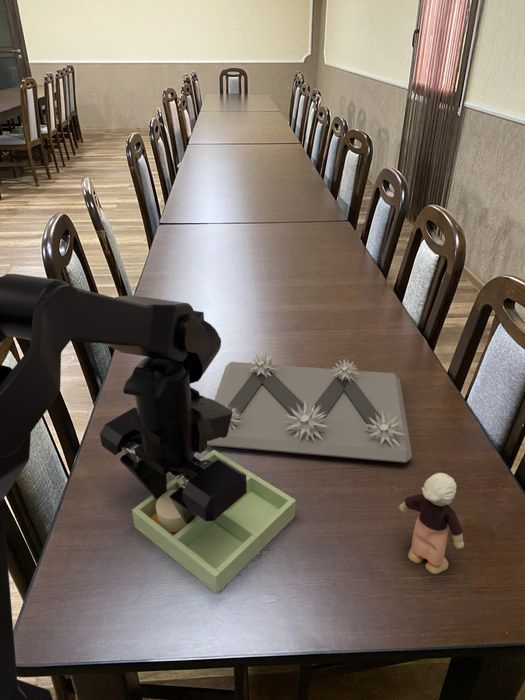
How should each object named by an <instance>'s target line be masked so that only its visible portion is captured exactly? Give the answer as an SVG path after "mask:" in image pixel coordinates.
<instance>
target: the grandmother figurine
mask: <svg viewBox="0 0 525 700" xmlns="http://www.w3.org/2000/svg"><path fill="white" fill-rule="evenodd" d="M421 490H422V494H419V493H418V494H414V495H411V496H408V497H406V498H404V501H402V503H400V504H399V506H398V509H399V511H400V512H401V513H403V514H406V513H407V512H408V511H409V510H412V511H416V512H418V513H419V514H418V516H417V518H416V521H415V523H414V529H413V531H412V532H413V533H412V541H411V547H410V549H409V552H408V559H409V560H410V561H411V562H413V563H415V564H420V563H422V562H423V561H424V560H427V562H426V563H425V569H426V570H427V571H428V572H429V573H430V574H433V575H437V574H440V573H442V572H444V571H446V570H447V569H448V568H449V562H448V560H447V558H446V557H445V554H446V548H447V543H448V537H449V536H448V535H449V531H450V534H451V536H452V540H453V545H454V547H455V548H456V549H457V550H462V549H464V547H465V542H464V536H463V529H462V528H463V527H462V526H461V523H460V521H459V518H458V516H457V513H456V512H455V510H454V509H453V508H452V507H451V506H449V504H451V503H453V499H454V498H455V497H456V493H457V483H456V482H455V479H454V477H452V476H450V475H449V474H447V473H444V472H437V473H434V474H433V475H431V476H429V477H428V478H427V479H426V480H425V481H424V484H423V487H421ZM448 530H449V531H448Z"/></svg>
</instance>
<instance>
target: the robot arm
mask: <svg viewBox="0 0 525 700" xmlns="http://www.w3.org/2000/svg"><path fill="white" fill-rule="evenodd" d="M7 337H11V338H18V339H24V340H28V341H29V340H30V345H29V349H28V350H27V351H26V352H25V354H23V356H22V357H21V358H20V360H19V361H17V363H16V364H15V365H14V366H13V368H12V367H11V366H7V365H2V364H0V700H54V699H53V696H52V695H53V694H52V693H51V690H50V689H47V688H45V687H41V686H39V685H35V684H33V683H30V682H26V681H23V680H21V679H18V671H17V662H16V661H17V660H16V647H15V636H14V623H13V610H12V598H11V583H10V573H9V572H10V571H9V560H8V559H9V558H8V547H7V534H6V522H5V509H4V504H5V498H6V496H7V495H8V493H9V491H10V490H11V489H12V487H13V486H14V485H15V482H16V481H17V480H18V478H19V476H20V475H21V474H22V472H23V470H24V469H25V467H26V466H27V465H28V463H29V460H30V455H31V453H30V452H31V440H32V439H31V438H32V431H33V430H34V429H35V428H36V426H37V425H38V424H39V422H40V420H41V419H42V418H43V416H44V415H45V414H46V412H47V411H48V409H49V408H50V407H51V405H52V404H53V403H54V401H55V400H56V399H57V397H58V396H59V394H60V391H61V378H62V377H61V375H62V373H61V372H62V352H63V351H64V350H65V348H67V346H68V344H69V343H70V342H76V343H77V342H79V343H91V344H104V345H107V346H108V348H111V349H114V350H115V351H117V352H120V353H123V354H128V355H133V356H134V355H135V356H140V357H145V358H143V359H141V361H140V362H138V364H137V365H136V366H135V367H134V369H132V371H131V375H130V376H129V377H128V378H127V379H126V381H125V383H124V386H123V389H122V392H123V394H125V395H129V396H134V398H135V407H133V408H130V409H129V410H127V411H125V412H124V413H122V414H120V415H118V416H117V417H115V418H113V419H111V420H110V421H108V422H106V423H105V424H104V425H103V427H102V429H101V430H100V433H99V438H100V443H101V446H102V447H103V448H104V449H106V450H107V451H108V452H110V454H112V455H114V456H117V455H118V454H120V453H121V452H123V451H124V454H122V455H121V456H120V457H119V460H120V463H121V464H122V465H123V466H124V467H126V469H128V471H129V472H130V473H131V474H132V475H133V476H134V477H135V478H136V479H137V480H138V482H140V484H141V485H142V486H143V487H144V488H145V489H146V491H148V493H149V494H150V496H151V495H152V496H153V497H154V498H155V499H156V500H158V499H159V497H160V496H161V495H163V494H164V493H166V492H167V484H168V482H167V481H168V480H167V479H168V478H167V474H168V475H169V476H171V477H172V478H173V479H179V478H180V477H182V476H184V477H183V482H184V484H182V487H181V488H179V489H178V490H177V491H175V492H174V493H173V494H171V495H170V496H169V498H170V499H171V501H172V503H173V504H174V506H175V507H176V509H177V511H178V512H179V514H180V516H181V517H182V519H183V520H184V521H185V523H187V524H189V523H190V522H191V521H192V520H193V519H194V518H195V516H196V515H198V516H199V517H200V518H202V519H203V520H205V521H214V520H216V519H217V518H218V517H219V516H220V515H221V514H223V513H224V512H225V511H226V510H227V509H228V508H230V507H231V506H232V505H233V504H234V503H235V502H237V501H238V500H239V499H240V498H241V497H242V496H244V495H245V494H246V493H247V481H246V475H245V474H243V473H242V472H240V471H239V470H237V469H235V468H234V467H232V466H231V465H229V464H227V463H226V462H224V461H221V460H218V459H217V460H216V461H215V462H211V461H210V460H202V461H201V460H200V459H199V458H198V457H196V456H195V455H196V453H197V454H202V453H203V452H205V451H206V450H207V449H208V445H207V441H211V440H214V439H217V438H220V437H222V438H225V437H227V435H228V431H229V427H230V422H231V418H232V414H233V411H232V410H230V409H229V408H227V407H225V406H223V405H221V404H220V403H218V402H216V401H214V400H215V399H212V398H208V397H205V396H204V395H201V394H200V391H199V390H197V389H195V388H193V387H192V386H191V384H194V383H197V382H200V380H201V379H202V377H203V376H204V374H205V373H206V371H207V369H208V368H209V367H210V365H211V364H212V363H213V361H214V359H215V358H216V357H217V355H218V354H219V352H220V350H221V347H222V339H221V336H220V334H219V333H218V331H217V330H216V328H215V327H214V326H213V325H212V324H211V323H209V322H207V321H206V320H205V313H204V311H200V310H194V308H193V307H192V305H191V304H190V303H188V302H182V301H175V300H169V299H161V298H153V297H147V296H139V295H121V296H120V295H119V296H115V297H114V296H110V295H105V294H101V293H97V292H94V291H91V290H86V289H81V288H78V287H74V286H73V285H72V284H71V285H70V284H69V283H67V282H66V281H65V280H62V279H57V278H56V279H55V278H48V277H41V276H33V275H25V274H20V273H19V274H18V273H6V274H4V275H2V276H0V344H1V343H2V342H4V340H5V339H6V338H7Z"/></svg>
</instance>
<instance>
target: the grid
mask: <svg viewBox="0 0 525 700" xmlns="http://www.w3.org/2000/svg"><path fill="white" fill-rule="evenodd" d="M217 459H218V460H221V461H224V462H226V463H227V464H229V465H231V466H232V467H234V468H235V469H237V470H239V471H240V472H242V473H243V474H245V475H246V481H247V493H246V494H245V495H244V496H242V497H241V498H240V499H239V500H238V501H237V502H235V503H234V504H233V505H232V506H231V507H230V508H228V509H227V510H226V511H225V512H224V513H223V514H221V515H220V516H219V517H218V518H217V519H216V520H214V521H205V520H203V519H202V518H200V517H199V516H198V515H196V516H195V519H194V520H192V521H191V522H190V523H189V524H188V525H186V526H185V527H184V528H183V529H182V530H180V531H179V532H168V531H166V530H165V529H164V528H162V527H161V526H160V525H159V524H158V519H157V512H156V503H157V500H156V499H155V498H154V497H153V496H152V495H151V494H150V496H149V497H147V498H146V499H144V500H143V501H142V502H140V503H139V504H138V505H137V506H135V507H134V508H132V509H131V514H132V520H133V525H134V526H133V527H134V528H135V529H137V530H138V531H139V532H140V533H141V534H143V535H144V537H146V538H147V539H149V540H150V541H151V542H152V543H153V544H155V545H156V546H157V547H158V548H159V549H160V550H162V551H163V552H164V553H166V554H167V555H169V556H170V557H171V558H172V559H173V560H174V561H176V562H177V563H178V564H180V565H181V566H182V567H183V568H184V569H185V570H187V571H188V572H189V573H190V574H192V575H193V576H194V577H195V578H196V579H197V580H198V581H200V582H201V583H203V584H204V585H205V586H207V588H208V589H210V590H211V591H212V592H214V594H216V595H218V594H219V593H220V592H221V591H222V590H223V589H224V588H225V587H226V586H227V585H228V584H229V583H230V582H231V581H232V580H233V579H234V578H235V577H236V576H237V575H238V574H239V573H240V572H241V571H242V570H243V569H244V568H245V567H246V566H247V565H248V564H249V563H250V562H251V561H253V559H254V558H255V557H256V556H258V554H259V553H261V551H262V550H263V549H264V548H265V547H266V546H267V545H268V544H269V543H270V542H271V541H272V540H273V539H274V538H275V537H276V536H277V535H278V534H279V533H280V532H281V531H282V530H283V529H284V528H285V527H286V526H288V524H289V523H291V522H292V521H293V519H295V517H296V505H297V500H296V499H295V498H293V497H292V496H290V495H288V494H287V493H285V492H284V491H282V490H280V489H279V488H278V487H276V486H274V485H272V484H271V483H269V482H267V481H266V480H264V479H263V478H261V477H259V476H258V475H257V474H254V473H253V472H252V471H249V470H248V469H247V468H245V467H243V466H242V465H240V464H239V463H237V462H235V461H234V460H232V459H230V458H229V457H227V456H226V455H224V454H222V453H220V452H219V451H217V450H216V449H213V450H211V451H210V452H209V453H206V455H204V456H203V457H201V458H200V459H199V460H201V461H202V460H210V461H211V462H215V461H216V460H217ZM183 477H184V476H182V477H180V478H179V479H175V478H173V479H172V480H171V481H169V482H167V492H168V491H171V490H178V489H179V488H181V487H182V484H184V482H183Z"/></svg>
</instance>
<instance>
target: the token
mask: <svg viewBox="0 0 525 700" xmlns="http://www.w3.org/2000/svg"><path fill="white" fill-rule="evenodd" d="M175 491H177V490H171V491H168V492H166V493H164V494H163V495H161V496H160V497H159V499H158V500H157V503H156V512H157V519H158V524H159V525H160V526H161V527H162V528H164V529H165V530H166V531H168V532H179V531H180V530H182V529H183V528H184V527H185V526H186V525H188V524H187V523H185V521H184V520H183V519H182V517H181V516H180V514H179V512H178V511H177V509H176V507H175V506H174V504H173V503H172V501H171V499H170V498H169V496H170V495H171V494H173V493H174V492H175ZM194 519H195V518H194ZM194 519H193V520H194Z"/></svg>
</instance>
